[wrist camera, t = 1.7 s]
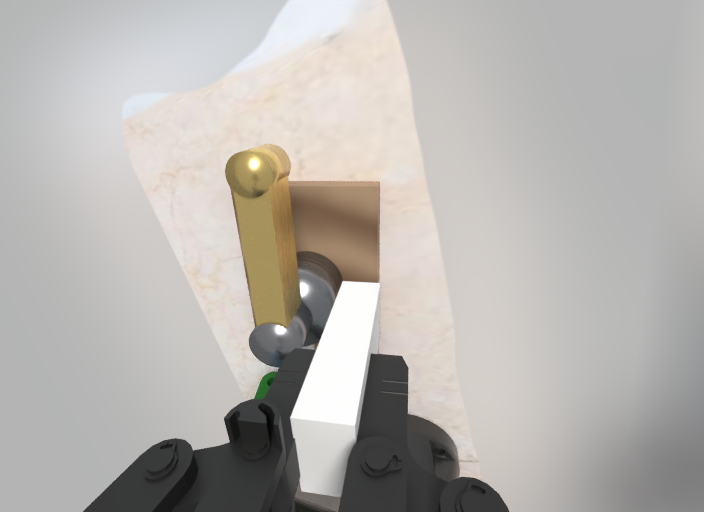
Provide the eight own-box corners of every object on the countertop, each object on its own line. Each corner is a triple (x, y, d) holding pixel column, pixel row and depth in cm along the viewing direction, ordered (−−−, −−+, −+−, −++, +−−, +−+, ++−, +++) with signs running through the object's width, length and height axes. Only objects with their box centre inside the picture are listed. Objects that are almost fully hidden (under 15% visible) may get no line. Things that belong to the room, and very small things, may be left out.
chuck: (346, 355, 39) (335, 397, 33) (287, 350, 40) (267, 390, 34) (341, 252, 33) (328, 282, 28) (273, 249, 34) (248, 277, 29)
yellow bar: (314, 337, 30) (301, 369, 27) (271, 334, 31) (253, 364, 27) (296, 143, 23) (275, 151, 20) (242, 144, 24) (212, 152, 20)
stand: (379, 351, 40) (377, 363, 38) (266, 342, 42) (259, 352, 41) (379, 181, 32) (377, 186, 30) (239, 180, 34) (230, 185, 32)
